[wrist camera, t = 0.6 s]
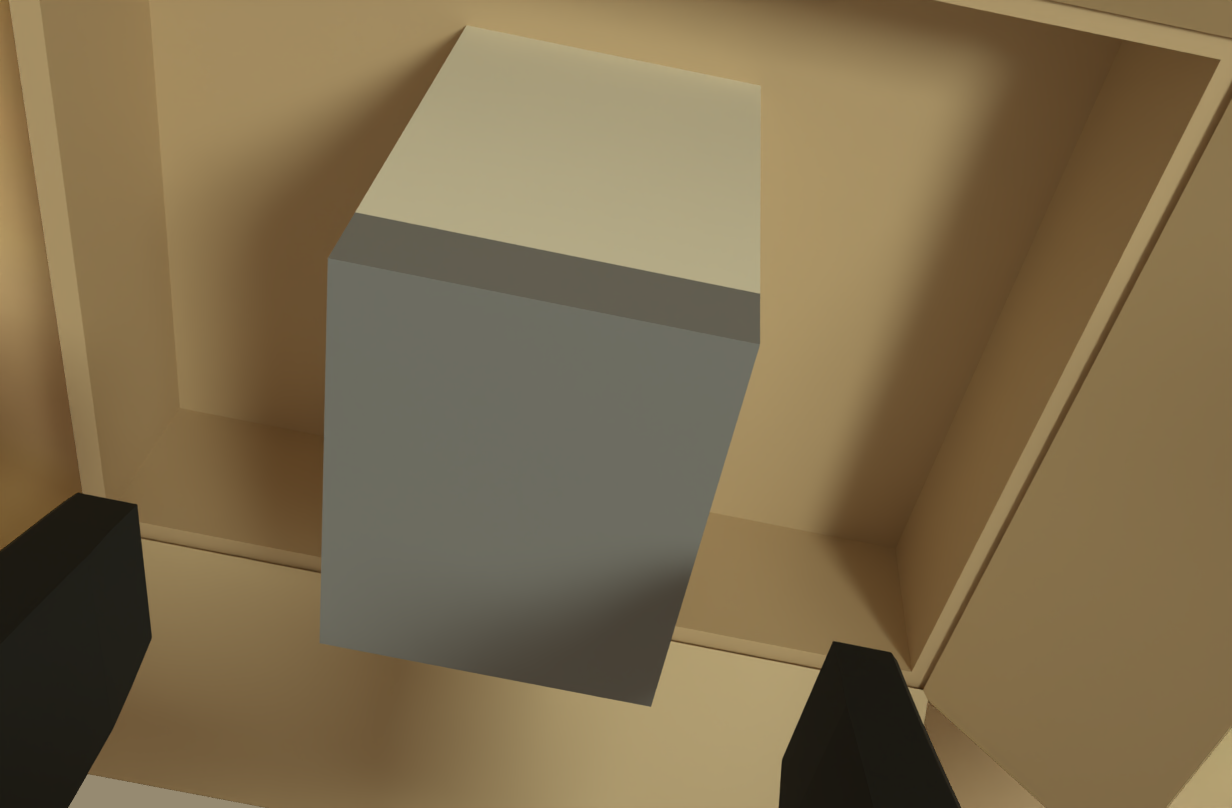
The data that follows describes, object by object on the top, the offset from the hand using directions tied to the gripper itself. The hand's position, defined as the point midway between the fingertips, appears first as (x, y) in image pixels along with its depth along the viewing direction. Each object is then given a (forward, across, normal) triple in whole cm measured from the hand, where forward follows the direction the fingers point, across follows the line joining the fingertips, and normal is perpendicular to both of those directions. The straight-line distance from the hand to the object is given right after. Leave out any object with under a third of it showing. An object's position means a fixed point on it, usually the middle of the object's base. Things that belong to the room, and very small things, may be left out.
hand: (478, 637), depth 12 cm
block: (+9, 0, 0) cm, 9 cm away
